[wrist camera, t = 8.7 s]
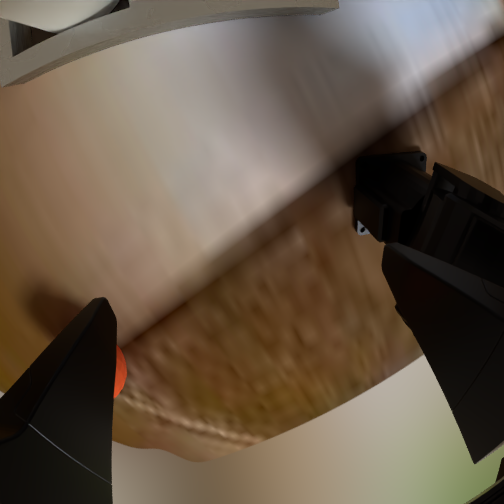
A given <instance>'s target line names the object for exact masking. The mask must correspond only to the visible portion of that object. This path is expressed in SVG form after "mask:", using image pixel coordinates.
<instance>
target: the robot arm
mask: <svg viewBox="0 0 504 504" xmlns="http://www.w3.org/2000/svg"><path fill="white" fill-rule="evenodd" d="M421 156H422V157H421ZM420 157H421V159H420ZM426 159H427V157H426V154H425V153H423V152H421V151H415V152H403V153H392V154H382V155H372V156H363V157H360V158H358V160H357V162H356V185H355V187H354V216H355V218H356V224H355V229H356V232H357V233H358V234H359V235H365V234H370V233H371V234H372V235H373V237H374V238H375V239H376V240H377V241H378V242H384V243H385V244H386V245H385V246H384V251H383V258H382V271H383V274H384V276H385V278H386V280H387V282H388V285H389V287H390V289H391V291H392V293H393V296H394V298H395V300H396V305H395V309H396V311H397V313H398V314H399V315H400V316H401V317H402V319H403V321H404V322H405V324H406V325H407V326H408V327H409V328H410V329H411V330H412V332H413V335H414V336H415V338H416V340H417V341H418V343H419V345H420V347H421V349H422V351H423V353H424V355H425V356H426V359H427V361H428V363H429V364H430V366H431V368H432V370H433V372H434V374H435V376H436V378H437V381H438V382H439V385H440V387H441V389H442V391H443V393H444V395H445V397H446V399H447V402H448V404H449V406H450V408H451V410H452V413H453V415H454V417H455V420H456V422H457V424H458V426H459V429H460V431H461V433H462V436H463V438H464V441H465V443H466V446H467V448H468V451H469V453H470V455H471V458H472V460H473V463H474V464H476V463H478V462H479V461H481V460H483V459H484V458H485V457H487V456H488V455H490V454H491V453H493V452H494V451H495V450H497V449H498V448H500V447H501V446H502V445H504V195H503V194H502V193H501V192H500V191H498V190H496V189H495V188H493V187H491V186H489V185H488V184H486V183H484V182H482V181H481V180H479V179H477V178H475V177H473V176H470V175H468V174H465V173H463V172H460V171H458V170H455V169H453V168H450V167H448V166H445V165H442V164H440V163H437V162H435V163H434V166H433V169H432V170H434V171H433V174H432V176H431V175H429V174H428V173H426ZM364 161H365V165H364V166H362V163H363V162H364ZM362 227H363V229H362V230H360V229H361V228H362ZM116 364H117V320H116V316H115V314H114V312H113V310H112V308H111V306H110V304H109V302H108V300H107V299H106V298H105V297H100V298H95V299H93V300H92V301H91V302H90V303H89V304H88V305H87V306H86V307H85V308H84V309H83V310H82V311H81V312H80V313H79V314H78V315H77V316H76V317H75V318H74V319H73V320H72V321H71V322H70V323H69V324H68V325H67V326H66V327H65V328H64V329H63V330H62V332H61V333H60V334H59V335H58V336H57V337H56V338H55V339H54V340H53V341H52V342H51V343H50V344H49V345H48V347H47V348H46V349H45V350H44V351H43V352H42V353H41V354H40V355H39V356H38V358H37V359H36V360H35V361H34V362H33V363H32V364H31V365H30V368H28V369H27V370H26V371H25V372H24V373H23V375H22V376H21V377H20V378H19V379H18V380H17V381H16V382H15V383H14V385H13V386H12V387H11V388H10V389H9V390H8V391H7V392H6V393H5V394H4V395H3V396H2V397H1V398H0V504H113V501H112V485H111V484H112V472H111V468H112V467H111V456H112V453H111V451H112V420H113V402H114V388H115V376H116ZM465 504H504V457H503V458H502V460H501V464H500V468H499V472H498V475H497V479H496V482H495V483H494V484H493V485H492V486H490V487H489V488H487V489H486V490H484V491H483V492H482V493H480V494H479V495H477V496H476V497H474V498H473V499H471V500H469V501H468V502H466V503H465Z"/></svg>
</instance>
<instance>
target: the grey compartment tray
mask: <svg viewBox="0 0 504 504" xmlns="http://www.w3.org/2000/svg"><path fill="white" fill-rule="evenodd" d="M129 6H130V8H127V9H124V10H120V11H117V12H114V13H111V14H108V15H105V16H102V17H100V18H97V19H94V20H91V21H89V22H86V23H83V24H81V25H78V26H76V27H74V28H71V29H69V30H66V31H64V32H62V33H60V34H57V35H55V36H53V37H51V38H49V39H47V40H45V41H43V42H41V43H39V44H37V45H35V46H33V42H32V34H31V26H29V25H25V24H22V23H18V22H15V21H11V20H8V19H4V18H0V83H1V88H2V87H7V86H13V85H18V84H24V83H26V82H28V81H30V80H32V79H34V78H36V77H38V76H40V75H42V74H44V73H46V72H49V71H51V70H53V69H55V68H57V67H60V66H62V65H64V64H67V63H69V62H72V61H74V60H77V59H79V58H82V57H84V56H87V55H89V54H92V53H95V52H98V51H101V50H103V49H106V48H109V47H112V46H115V45H119V44H122V43H125V42H128V41H132V40H135V39H139V38H142V37H146V36H150V35H154V34H158V33H162V32H166V31H170V30H175V29H180V28H185V27H190V26H195V25H201V24H207V23H213V22H220V21H227V20H235V19H244V18H254V17H267V16H287V15H322V14H325V13H327V12H330V11H333V10H335V9H338V8H339V3H338V0H129Z"/></svg>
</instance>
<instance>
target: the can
mask: <svg viewBox="0 0 504 504" xmlns="http://www.w3.org/2000/svg"><path fill="white" fill-rule="evenodd" d="M119 1H120V0H0V18H4V19H8V20H11V21H15V22H18V23H22V24H25V25H29V26H32V27H35V28H38V29H42V30H45V31H48V32H51V33H56V34H60V33H62V32H64V31H66V30H69V29H71V28H74V27H76V26H78V25H81V24H83V23H86V22H89V21H91V20H94V19H97V18H100V17H102V16H105V15H108V14H109V13H110V12H111V11H112V10H113V9H114V8H115V6H116V5H117V4H118V2H119Z"/></svg>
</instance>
